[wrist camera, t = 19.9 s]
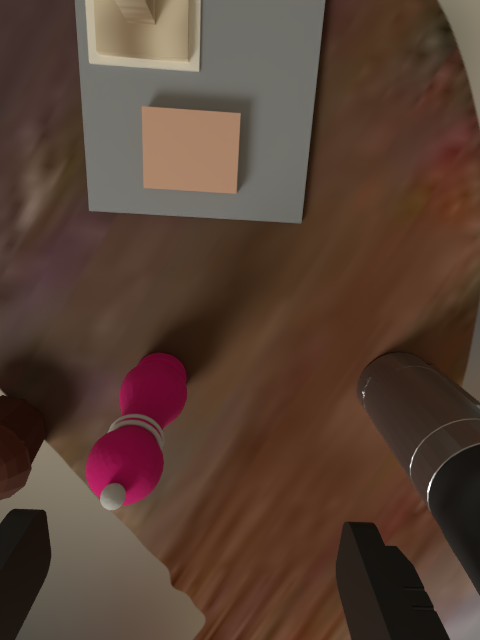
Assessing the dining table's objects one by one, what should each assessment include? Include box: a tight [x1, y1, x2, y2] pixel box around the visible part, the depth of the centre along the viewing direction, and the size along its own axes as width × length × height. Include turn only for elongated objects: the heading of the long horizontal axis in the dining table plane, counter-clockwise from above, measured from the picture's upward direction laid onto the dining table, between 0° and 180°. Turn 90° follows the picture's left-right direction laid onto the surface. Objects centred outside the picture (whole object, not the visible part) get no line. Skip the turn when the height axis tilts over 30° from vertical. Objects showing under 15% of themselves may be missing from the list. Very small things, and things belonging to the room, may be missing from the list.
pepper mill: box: [86, 353, 187, 510], centre depth 35 cm, size 7×7×20 cm
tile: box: [142, 106, 241, 194], centre depth 35 cm, size 2×7×9 cm
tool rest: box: [85, 0, 201, 72], centre depth 32 cm, size 10×10×1 cm
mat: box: [75, 0, 325, 223], centre depth 35 cm, size 22×24×1 cm
